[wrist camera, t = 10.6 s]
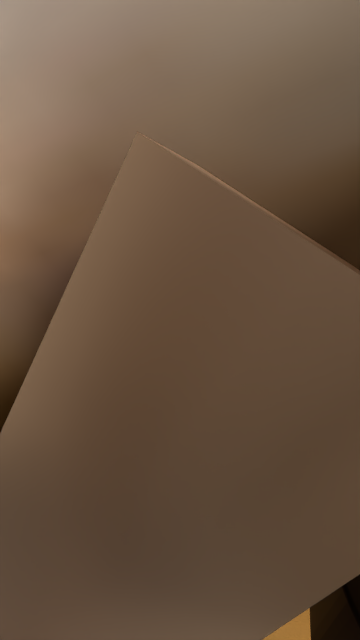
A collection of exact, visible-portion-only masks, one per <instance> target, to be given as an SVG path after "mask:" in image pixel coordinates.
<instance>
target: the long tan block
mask: <svg viewBox="0 0 360 640" xmlns="http://www.w3.org/2000/svg"><path fill="white" fill-rule="evenodd" d="M359 574H360V270H359V269H357V268H356V267H354V266H353V265H351V264H350V263H348V262H347V261H345V260H343V259H342V258H340V257H339V256H337V255H336V254H334V253H333V252H331V251H330V250H328V249H326V248H325V247H323V246H322V245H320V244H319V243H317V242H316V241H314V240H313V239H311V238H309V237H308V236H306V235H305V234H303V233H302V232H300V231H299V230H297V229H296V228H294V227H293V226H291V225H289V224H288V223H286V222H285V221H283V220H282V219H280V218H279V217H277V216H276V215H274V214H272V213H271V212H269V211H268V210H266V209H265V208H263V207H262V206H260V205H259V204H257V203H255V202H254V201H252V200H251V199H249V198H248V197H246V196H245V195H243V194H242V193H240V192H239V191H237V190H235V189H234V188H232V187H231V186H229V185H228V184H226V183H225V182H223V181H222V180H220V179H218V178H217V177H215V176H214V175H212V174H211V173H209V172H208V171H206V170H205V169H203V168H201V167H200V166H198V165H196V164H195V163H193V162H191V161H189V160H187V159H186V158H184V157H182V156H180V155H178V154H177V153H175V152H173V151H171V150H170V149H168V148H166V147H164V146H162V145H161V144H159V143H157V142H155V141H153V140H152V139H150V138H148V137H146V136H145V135H143V134H141V133H139V132H137V133H136V135H135V137H134V140H133V142H132V144H131V146H130V148H129V151H128V153H127V155H126V157H125V159H124V162H123V164H122V166H121V168H120V170H119V173H118V175H117V177H116V179H115V181H114V184H113V186H112V188H111V190H110V193H109V195H108V197H107V199H106V201H105V204H104V206H103V208H102V210H101V212H100V215H99V217H98V219H97V221H96V223H95V226H94V228H93V230H92V232H91V234H90V237H89V239H88V241H87V243H86V245H85V248H84V250H83V252H82V254H81V256H80V259H79V261H78V263H77V265H76V267H75V270H74V272H73V274H72V276H71V278H70V281H69V283H68V285H67V287H66V289H65V292H64V294H63V296H62V298H61V300H60V303H59V305H58V307H57V309H56V311H55V314H54V316H53V318H52V320H51V322H50V325H49V327H48V329H47V331H46V333H45V336H44V338H43V340H42V342H41V344H40V347H39V349H38V351H37V353H36V355H35V358H34V360H33V362H32V364H31V366H30V369H29V371H28V373H27V375H26V377H25V380H24V382H23V384H22V386H21V388H20V391H19V393H18V395H17V397H16V399H15V402H14V404H13V406H12V408H11V410H10V413H9V415H8V417H7V419H6V421H5V424H4V426H3V428H2V430H1V433H0V640H262V639H263V638H265V637H266V636H268V635H269V634H271V633H272V632H274V631H275V630H277V629H278V628H280V627H281V626H283V625H284V624H286V623H287V622H289V621H290V620H292V619H293V618H295V617H296V616H298V615H299V614H301V613H302V612H304V611H305V610H307V609H308V608H310V607H311V606H313V605H314V604H316V603H317V602H319V601H320V600H322V599H323V598H325V597H326V596H328V595H329V594H331V593H332V592H334V591H335V590H337V589H338V588H340V587H341V586H343V585H344V584H346V583H347V582H349V581H350V580H352V579H353V578H355V577H356V576H358V575H359Z"/></svg>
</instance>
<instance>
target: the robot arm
mask: <svg viewBox="0 0 360 640" xmlns="http://www.w3.org/2000/svg"><path fill="white" fill-rule="evenodd" d="M310 629H311V640H360V574H359V575H358V576H356V577H355V578H353V579H352V580H350V581H349V582H347V583H346V584H344V585H343V586H341V587H340V588H338V589H337V590H335V591H334V592H332V593H331V594H329V595H328V596H326V597H325V598H323V599H322V600H320V601H319V602H317V603H316V604H314V605H313V606H311V607H310Z"/></svg>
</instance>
